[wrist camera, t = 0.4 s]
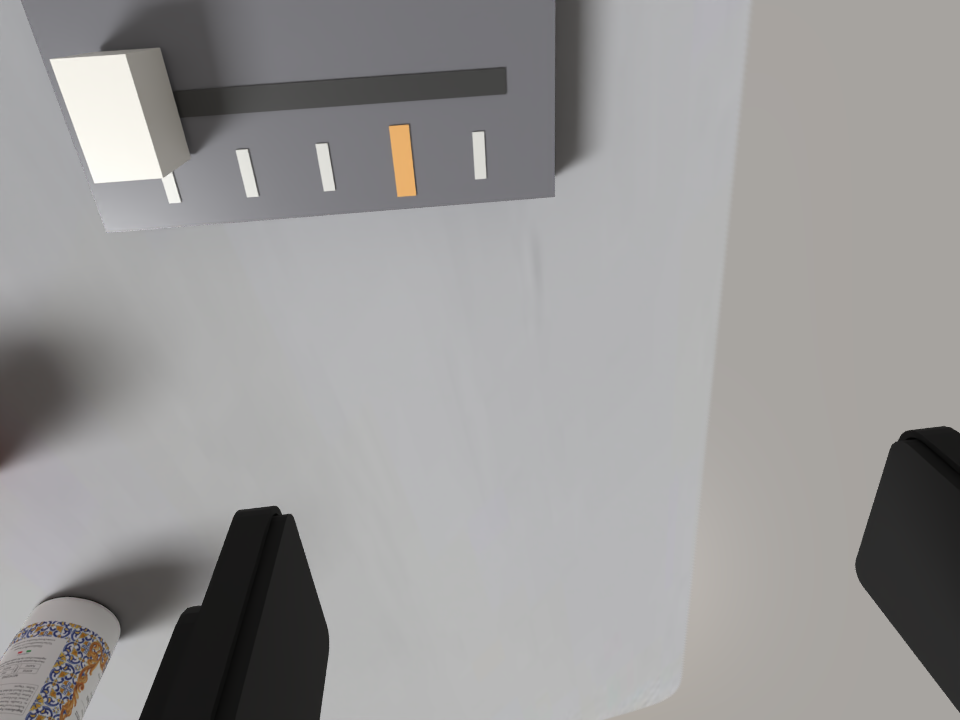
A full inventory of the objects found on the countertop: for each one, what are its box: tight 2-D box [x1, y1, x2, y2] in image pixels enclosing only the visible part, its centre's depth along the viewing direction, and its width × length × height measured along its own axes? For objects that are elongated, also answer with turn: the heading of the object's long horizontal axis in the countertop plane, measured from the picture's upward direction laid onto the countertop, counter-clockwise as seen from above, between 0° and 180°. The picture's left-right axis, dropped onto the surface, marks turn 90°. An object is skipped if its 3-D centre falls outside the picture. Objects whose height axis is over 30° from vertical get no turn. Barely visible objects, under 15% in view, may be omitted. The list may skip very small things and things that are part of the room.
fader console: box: [21, 0, 555, 233], centre depth 32 cm, size 12×24×3 cm, turn 93°
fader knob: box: [50, 48, 191, 183], centre depth 28 cm, size 5×3×4 cm, turn 3°
